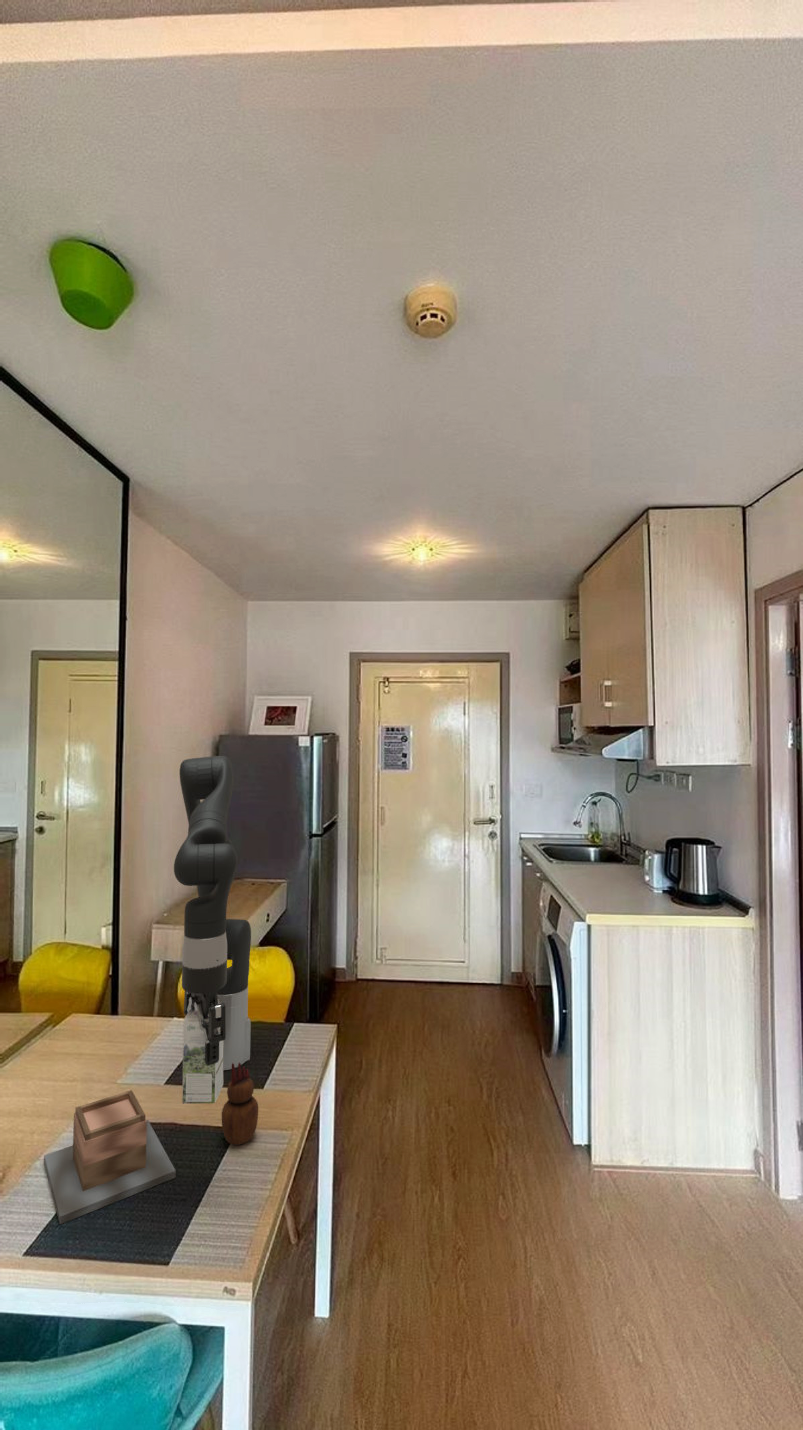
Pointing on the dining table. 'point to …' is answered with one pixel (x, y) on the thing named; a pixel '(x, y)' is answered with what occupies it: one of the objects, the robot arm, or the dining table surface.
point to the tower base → (105, 1191)
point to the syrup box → (199, 1064)
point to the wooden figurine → (240, 1108)
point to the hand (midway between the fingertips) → (203, 1053)
